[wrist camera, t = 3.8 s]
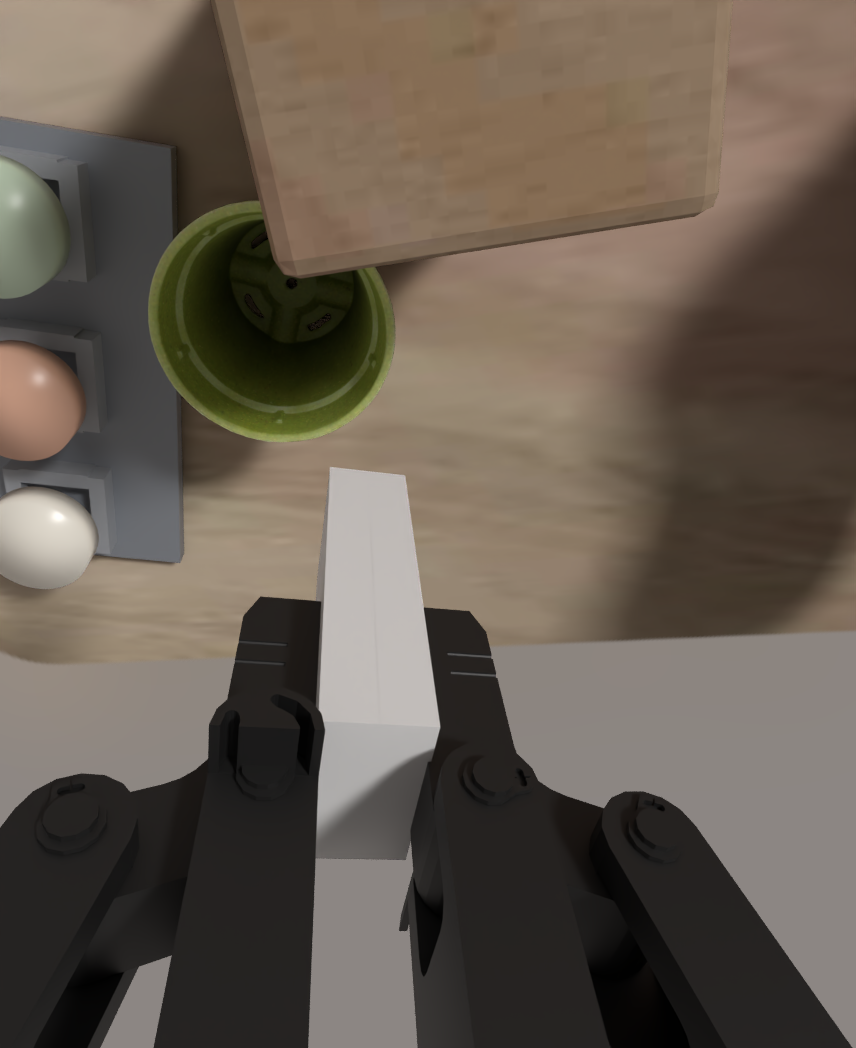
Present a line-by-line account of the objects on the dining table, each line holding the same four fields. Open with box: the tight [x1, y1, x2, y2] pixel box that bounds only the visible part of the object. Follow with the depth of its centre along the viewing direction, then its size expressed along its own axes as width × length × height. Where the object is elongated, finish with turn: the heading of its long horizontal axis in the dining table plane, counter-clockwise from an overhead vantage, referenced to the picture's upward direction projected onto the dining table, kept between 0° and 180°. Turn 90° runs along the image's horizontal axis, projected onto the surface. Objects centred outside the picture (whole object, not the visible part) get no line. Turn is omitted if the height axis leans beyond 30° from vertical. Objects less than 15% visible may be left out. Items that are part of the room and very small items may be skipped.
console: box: [0, 116, 184, 563], centre depth 36 cm, size 22×12×2 cm, turn 171°
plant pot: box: [148, 200, 395, 442], centre depth 31 cm, size 9×9×9 cm
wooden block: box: [210, 0, 733, 279], centre depth 22 cm, size 10×10×20 cm
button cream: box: [0, 486, 99, 589], centre depth 37 cm, size 5×5×3 cm
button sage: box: [0, 155, 71, 299], centre depth 29 cm, size 5×5×3 cm
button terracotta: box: [0, 340, 86, 461], centre depth 33 cm, size 5×5×3 cm
